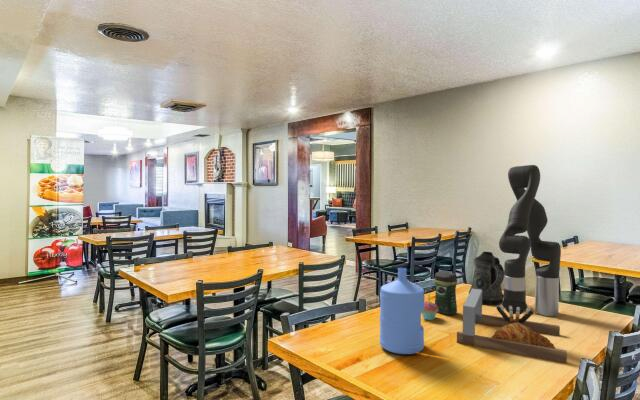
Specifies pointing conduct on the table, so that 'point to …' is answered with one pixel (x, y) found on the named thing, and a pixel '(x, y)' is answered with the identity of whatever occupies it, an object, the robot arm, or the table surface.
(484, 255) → the beer stein
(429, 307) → the cupcake
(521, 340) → the pastry
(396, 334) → the water jug
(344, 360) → the table surface
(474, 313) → the two-rail open rack
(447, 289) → the coffee jar
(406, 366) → the table surface
